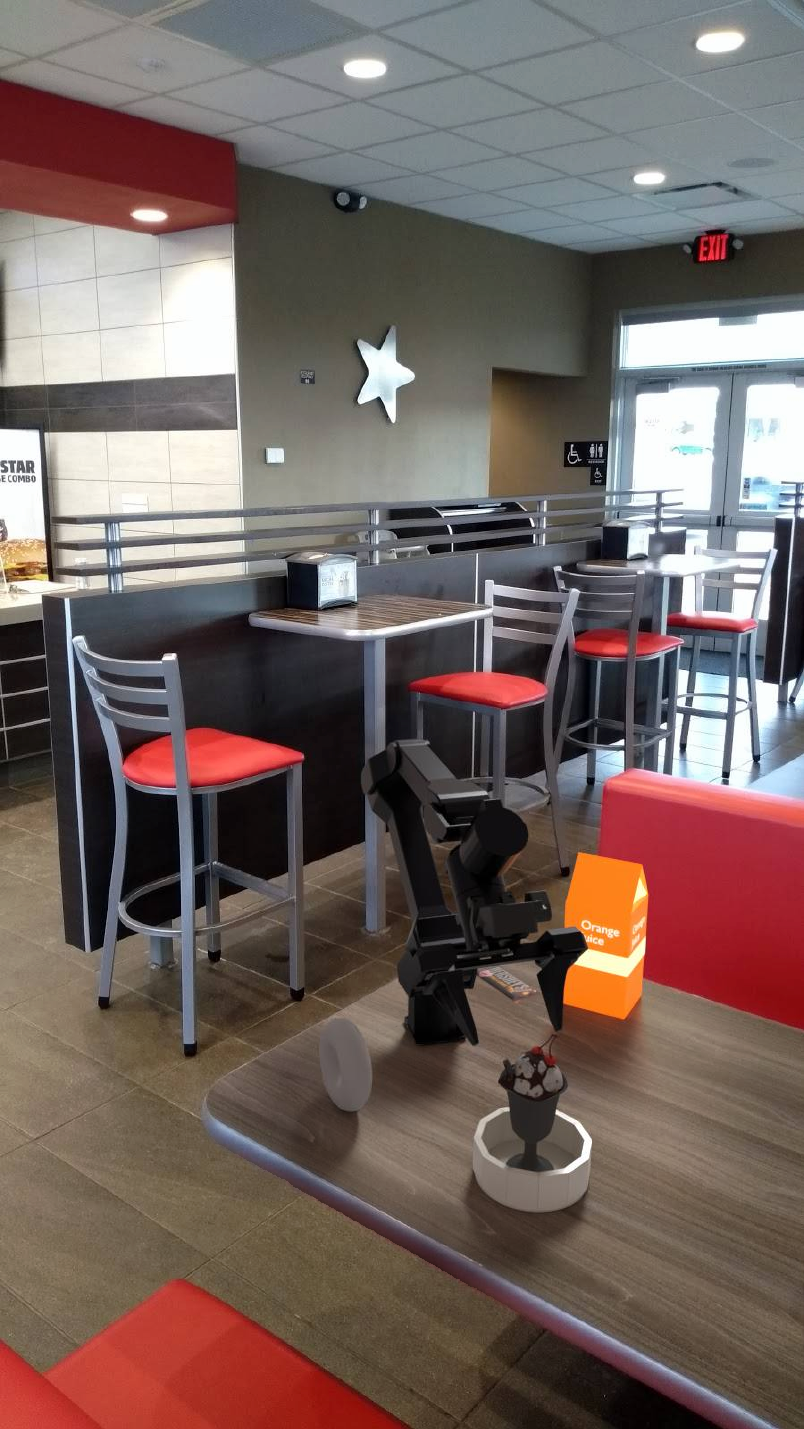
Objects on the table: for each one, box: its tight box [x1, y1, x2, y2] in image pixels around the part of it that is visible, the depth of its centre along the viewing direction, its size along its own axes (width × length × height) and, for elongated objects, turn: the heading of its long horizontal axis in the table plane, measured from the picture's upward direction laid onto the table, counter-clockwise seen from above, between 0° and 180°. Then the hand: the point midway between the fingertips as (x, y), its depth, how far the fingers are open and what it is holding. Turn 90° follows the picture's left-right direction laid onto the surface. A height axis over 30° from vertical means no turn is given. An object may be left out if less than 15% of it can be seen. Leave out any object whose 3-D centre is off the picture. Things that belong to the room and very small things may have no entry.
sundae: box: [497, 1033, 569, 1172], centre depth 106 cm, size 7×7×15 cm
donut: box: [318, 1017, 373, 1112], centre depth 118 cm, size 10×3×10 cm, turn 25°
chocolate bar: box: [476, 965, 540, 1004], centre depth 148 cm, size 11×5×1 cm, turn 32°
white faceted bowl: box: [472, 1106, 593, 1214], centre depth 108 cm, size 11×11×4 cm
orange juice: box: [563, 851, 649, 1020], centre depth 141 cm, size 8×9×20 cm
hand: (517, 1037), depth 109 cm, fingers open, 9 cm apart
